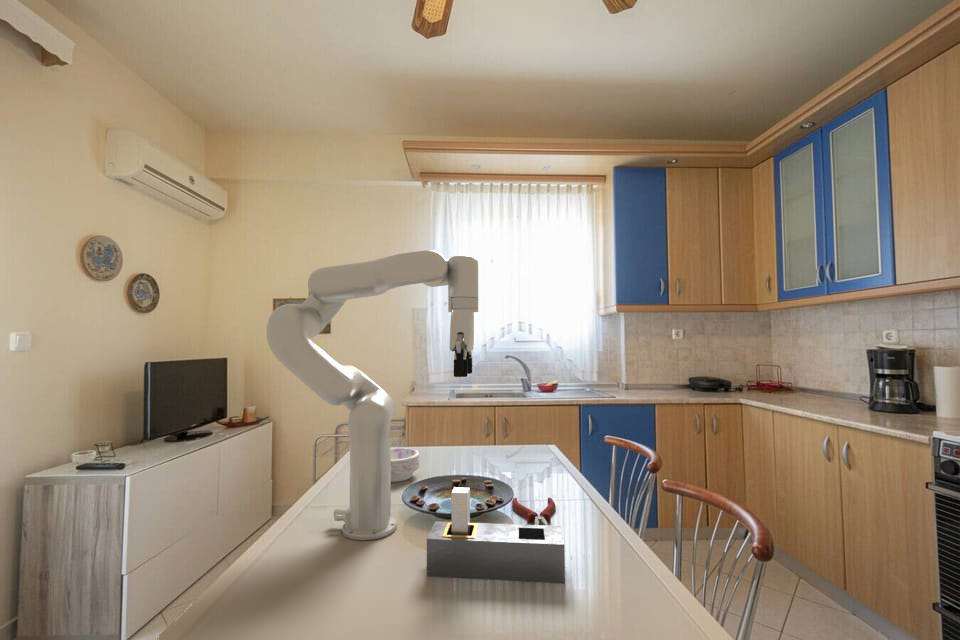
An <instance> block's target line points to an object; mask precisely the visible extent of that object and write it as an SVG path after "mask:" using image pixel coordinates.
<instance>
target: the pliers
mask: <svg viewBox="0 0 960 640" xmlns="http://www.w3.org/2000/svg"><path fill="white" fill-rule="evenodd" d="M511 505H512V509H513V511H514V512H515V513H517V514H518V515H519V516H521V517H524V519H526V523H528V524H531V523H532V524H534V525H547V526H549V524H551V516H552V515H553V514H554V513H555V511H556V509H557V508H556V506H557V505H556V503H555V501H554V500H553V498H551V497H547V506H546V507H545V508H544V509H543V510H542V511H540V512H539V513H537V512H536V511H533V510H532V509H530V508H528V507H526V506H525V505H523V504H521V503H520V502H518V499H517V497H513V499H511Z"/></svg>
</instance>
